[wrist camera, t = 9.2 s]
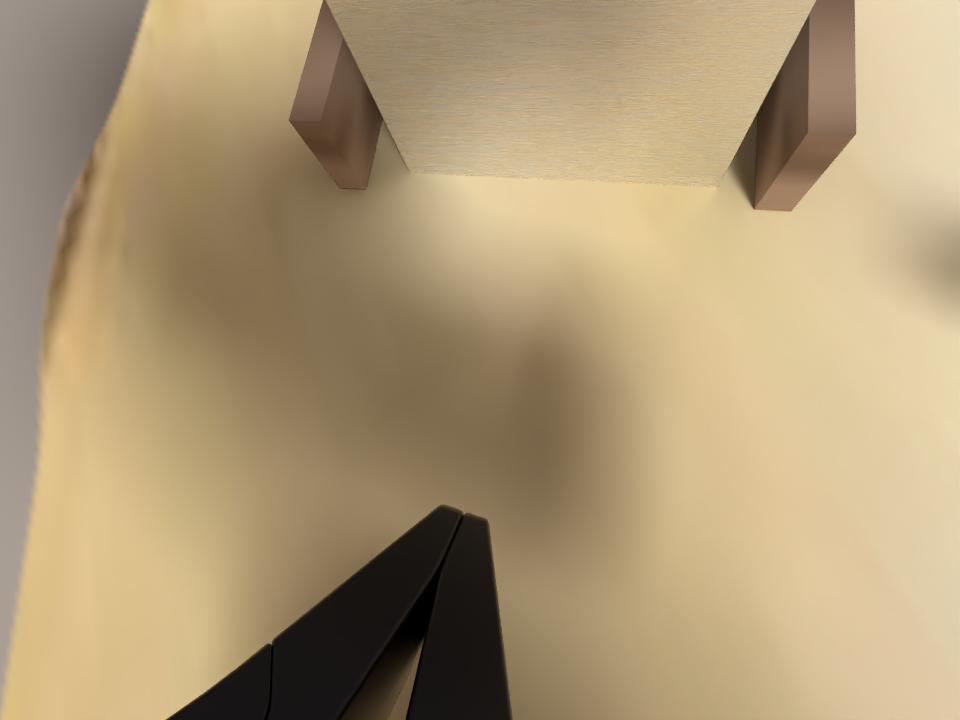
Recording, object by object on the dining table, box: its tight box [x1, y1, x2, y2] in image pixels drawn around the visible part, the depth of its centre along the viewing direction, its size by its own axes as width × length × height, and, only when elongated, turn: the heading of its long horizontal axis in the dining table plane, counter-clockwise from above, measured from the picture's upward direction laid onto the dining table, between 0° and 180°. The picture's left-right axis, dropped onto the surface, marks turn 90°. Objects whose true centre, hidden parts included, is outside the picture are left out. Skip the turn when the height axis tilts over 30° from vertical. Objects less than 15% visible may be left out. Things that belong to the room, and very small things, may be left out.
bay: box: [289, 0, 856, 211], centre depth 18 cm, size 11×17×4 cm, turn 81°
